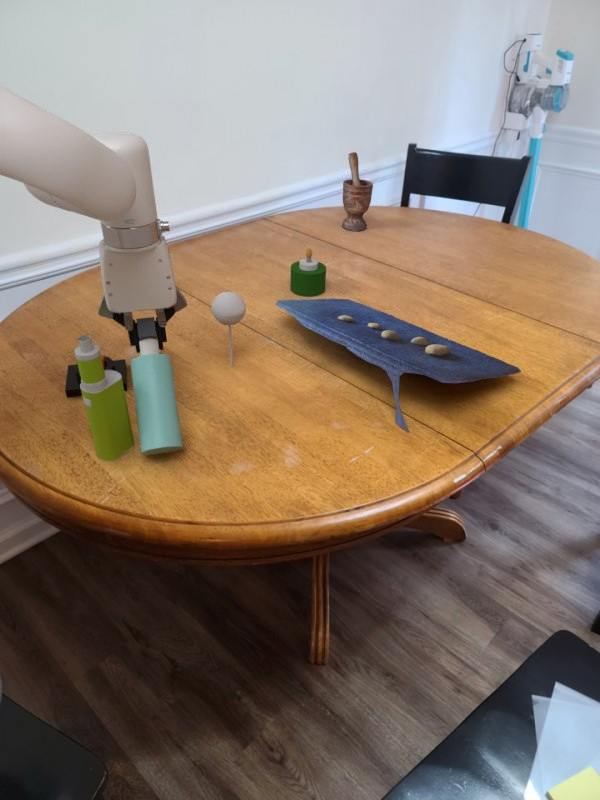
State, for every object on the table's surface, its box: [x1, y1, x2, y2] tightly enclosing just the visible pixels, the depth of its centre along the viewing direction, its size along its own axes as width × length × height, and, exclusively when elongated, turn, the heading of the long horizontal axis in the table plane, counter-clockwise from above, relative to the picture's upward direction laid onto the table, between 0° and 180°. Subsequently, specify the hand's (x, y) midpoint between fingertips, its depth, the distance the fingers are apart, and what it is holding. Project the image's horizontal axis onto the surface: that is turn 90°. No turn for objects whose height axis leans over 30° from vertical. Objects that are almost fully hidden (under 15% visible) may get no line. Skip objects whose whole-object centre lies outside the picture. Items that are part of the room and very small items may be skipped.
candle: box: [289, 248, 327, 298], centre depth 131 cm, size 8×8×10 cm
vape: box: [73, 334, 135, 463], centre depth 80 cm, size 4×6×20 cm, turn 147°
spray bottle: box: [130, 316, 184, 456], centre depth 85 cm, size 6×6×20 cm
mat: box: [275, 297, 522, 434], centre depth 109 cm, size 45×27×12 cm, turn 42°
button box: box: [64, 355, 128, 399], centre depth 100 cm, size 10×8×4 cm
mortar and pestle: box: [341, 151, 374, 233], centre depth 166 cm, size 12×9×20 cm
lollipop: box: [210, 290, 247, 368], centre depth 101 cm, size 6×6×15 cm
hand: (149, 346), depth 88 cm, fingers closed on spray bottle, 2 cm apart
